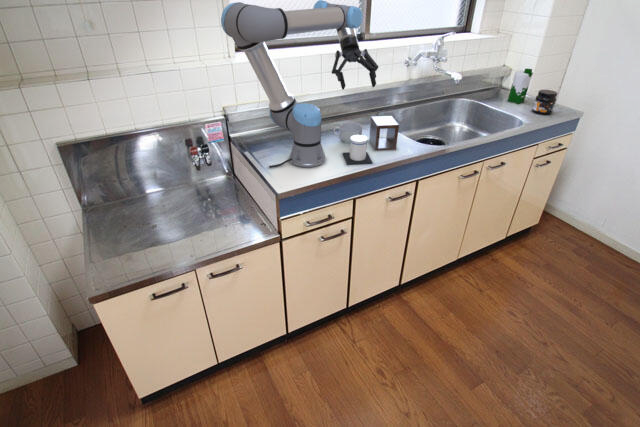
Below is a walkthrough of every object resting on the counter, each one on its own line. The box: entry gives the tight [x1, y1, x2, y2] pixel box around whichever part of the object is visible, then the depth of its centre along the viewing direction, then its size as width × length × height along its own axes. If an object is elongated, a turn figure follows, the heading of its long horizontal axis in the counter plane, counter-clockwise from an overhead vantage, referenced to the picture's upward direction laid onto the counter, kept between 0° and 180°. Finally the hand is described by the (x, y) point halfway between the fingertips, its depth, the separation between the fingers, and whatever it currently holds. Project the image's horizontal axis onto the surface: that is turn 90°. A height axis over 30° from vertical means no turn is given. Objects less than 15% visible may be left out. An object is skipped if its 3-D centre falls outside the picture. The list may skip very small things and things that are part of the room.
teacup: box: [332, 121, 363, 145], centre depth 184 cm, size 14×11×8 cm
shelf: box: [368, 115, 400, 152], centre depth 180 cm, size 10×12×12 cm
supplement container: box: [531, 89, 558, 116], centre depth 221 cm, size 10×10×12 cm
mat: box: [342, 151, 373, 166], centre depth 170 cm, size 11×11×1 cm
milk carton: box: [507, 68, 534, 105], centre depth 236 cm, size 9×9×20 cm
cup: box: [349, 134, 368, 161], centre depth 167 cm, size 7×7×9 cm
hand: (359, 86), depth 159 cm, fingers open, 13 cm apart
